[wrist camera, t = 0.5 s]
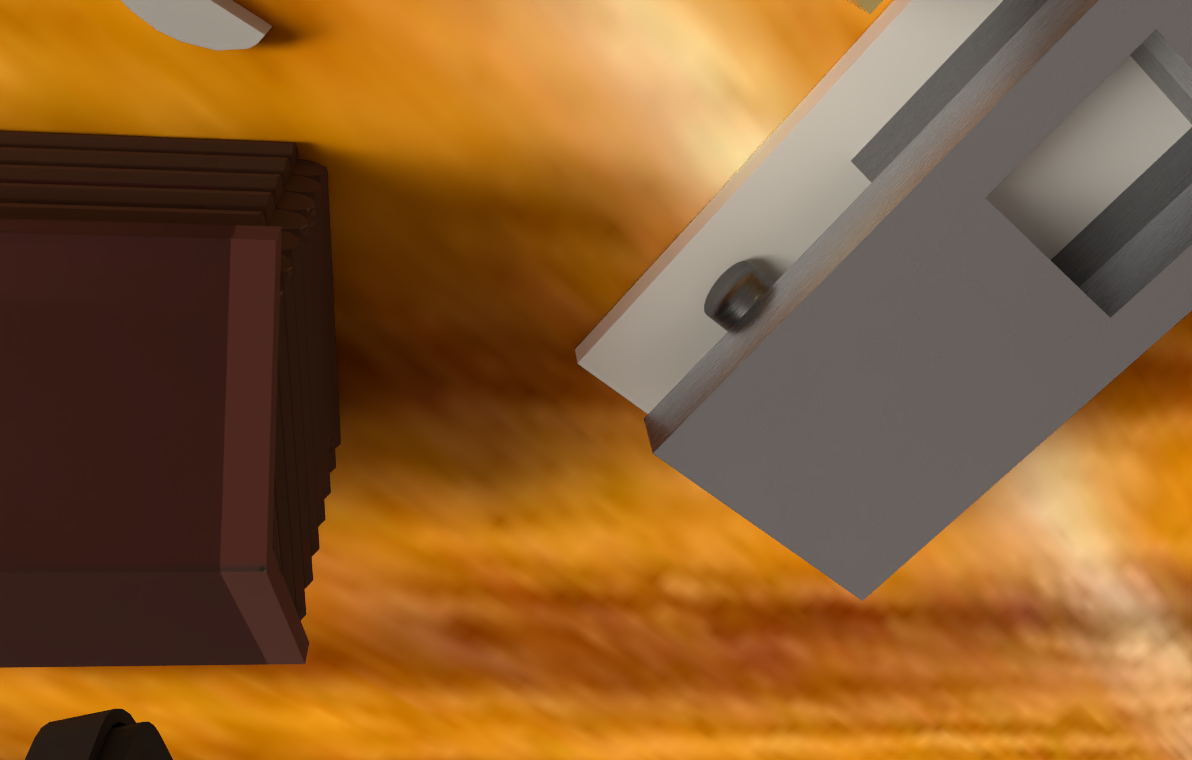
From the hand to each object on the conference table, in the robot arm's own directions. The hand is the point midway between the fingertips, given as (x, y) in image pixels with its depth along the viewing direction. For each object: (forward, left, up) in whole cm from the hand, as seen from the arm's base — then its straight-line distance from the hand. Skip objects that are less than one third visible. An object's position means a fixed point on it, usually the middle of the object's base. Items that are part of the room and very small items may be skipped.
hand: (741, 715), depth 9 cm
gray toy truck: (-8, +13, -26) cm, 30 cm away
